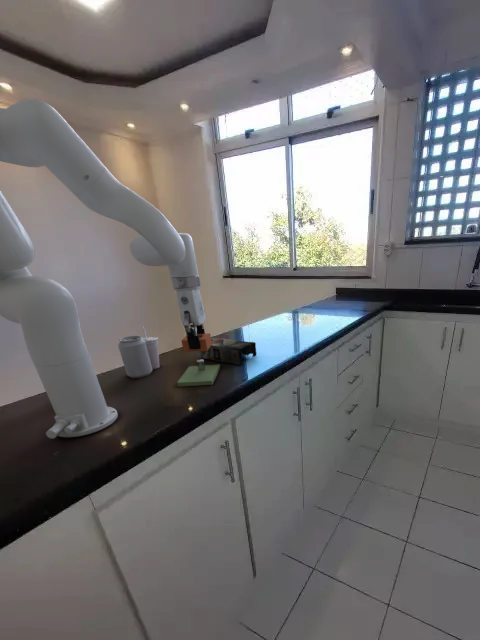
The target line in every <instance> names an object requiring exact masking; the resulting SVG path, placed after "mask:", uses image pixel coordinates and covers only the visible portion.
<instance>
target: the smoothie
mask: <svg viewBox="0 0 480 640" xmlns="http://www.w3.org/2000/svg"><path fill="white" fill-rule="evenodd" d="M141 328H142V332H143V336H144V337H142V339H143V340H144V341H145V343H146V347H147V351H148V354H149V358H150V362H151V366H152V370H156V369H159V368H160V355H159V354H160V353H159V338H158V336H157V337H156V336H147V332H146V328H145V325H142V327H141Z"/></svg>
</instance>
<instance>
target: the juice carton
mask: <svg viewBox="0 0 480 640" xmlns="http://www.w3.org/2000/svg"><path fill="white" fill-rule="evenodd" d="M211 341H212V345H211V346H210V348H209V349H208V351H198V354H199V355H198V356H199V359H200V360H201V359H202V360H208V361H209V360H210V361H214V362H215V361H216V362H220V363H225V364H231V365H237V366H242V365H243V356H247V357H248V356H249V355H252V358H255V357H257V348H256V345H257V343H256V342H255V341H246V340H245V341H244V340H236V339H226V338H219V337H211Z"/></svg>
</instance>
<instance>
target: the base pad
mask: <svg viewBox="0 0 480 640" xmlns="http://www.w3.org/2000/svg"><path fill="white" fill-rule="evenodd" d="M220 370H221V364H205V359H201V358H200V359H197V360H196V365H189V366H188V367H187V368H186V369H185V371H184V373H183V374H182V375H181V376H180V378H179V379H178V380H177V381H176V386H177V387H194V386H210V385H211V386H212V385H213V384H214V382H215V380H216V378H217V377H218V374H219V372H220Z"/></svg>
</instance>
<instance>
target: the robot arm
mask: <svg viewBox="0 0 480 640" xmlns="http://www.w3.org/2000/svg"><path fill="white" fill-rule="evenodd" d="M0 162H2V163H6V164H11V165H16V166H21V167H25V168H40V167H45V168H46V169H47V170H48V171H49V172H50V173H51V174H53V176H55V178H56V179H58V180H59V181H60V182H61V183H62V185H64V187H66V188H67V189H68V190H69V191H70V192H71V193H72V195H74V196H75V197H76V198H77V199H78V200H79V201H80V202H81V203H82V204H83V205H84V206H85V207H86V208H88V210H91V212H94V213H97V214H98V215H100V216H103V217H106V218H109V219H111V220H114V221H115V222H116V221H117V222H119V223H121V224H123V225H125V226H127V227H128V228H130V229H132V230H134V231H135V232H136V233H137V234H136V235H134V236H133V237H132V239H131V240H130V243H129V250H130V253H131V256H132V257H133V259H135V260H136V261H137V262H138V263H139V264H141V265H144V266H147V267H149V266H150V267H163V266H164V267H167V268H168V272H169V277H170V281H171V286H172V290H173V291H175V292H176V299H177V305H178V306H177V307H178V311H179V316H180V321H181V324H182V326H183V328H184V330H185V331H184V332H185V335H186V336H187V340H188V344H189V349H200V348H201V346H200V341H199V336H198V335H197V334H206V332H205V328H204V327H205V326H204V322H205V321H206V319H207V316H206V310H205V307H204V301H203V298H202V297H203V296H202V294H201V290H200V289H201V288H202V286H201V279H200V276H199V275H200V274H199V269H198V263H197V257H196V251H195V246H194V242H193V238H192V236H191V235H190V234H189V233H186V232H178V231H177V229H176V228H175V227H174V226H173V224H172V223H171V222H170V221H169V220H168V218H167V217H166V216H165V215H164V214H163V213H162V212H161V211H160V210H159V209H158V208H157V207H156V206H155V205H154V204H152V203H151V202H150V201H148V200H146V199H145V198H144V197H143V196H140V195H139V194H138V193H136V192H135V191H133V190H132V189H131V188H129V187H127V186H126V185H124V184H123V183H122V182H120V181H119V180H118V179H117V178H116V176H114V175H113V174H112V172H111V171H110V170H109V169H108V168H107V167H106V165H105V164H104V163H103V162H102V161H101V160H100V159H99V157H98V156H97V155H96V153H94V152H93V150H92V149H91V148H90V147H89V146H88V145H87V143H86V142H85V141H84V140H83V139H82V138H81V136H80V135H79V134H78V133H77V132H76V131H75V130H74V128H73V127H72V126H71V125H70V124H69V123H68V121H66V119H65V118H64V117H63V116H62V115H61V114H60V112H59V111H58V110H57V109H55V108H54V107H53V106H51V105H50V104H49V103H47V102H46V101H43V100H41V99H37V98H25V99H21V100H19V101H17V102H15V103H13V104H11V105H10V106H8V107H7V108H4V107H0ZM35 251H36V249H35V246H34V243H33V241H32V238H31V237H30V235H29V233H28V232H27V230H26V229H25V227H24V226H23V224H22V222H21V221H20V219H19V218H18V216H17V215H16V213H15V211H14V210H13V208H12V206H11V205H10V203H9V202H8V200H7V199H6V197H5V195H4V194H3V192H2V191H1V190H0V316H1V317H2V318H3V319H4V320H5V319H6V320H8V321H10V322H12V323H16V324H18V325H20V326H21V330H22V333H23V334H22V335H23V338H24V343H25V347H26V349H27V352H28V354H29V357H30V359H31V361H32V364H33V365H34V368H35V370H36V372H37V375H38V377H39V379H40V381H41V384H42V386H43V388H44V390H45V392H46V395H47V398H48V399H49V403H50V404H51V406H52V408H53V411H54V413H55V416H54V417H53V419H54V421H55V422H54V424H53V426H52V427H50V428H49V429H48V430H47V431H46V432H45V435H46V437H47V438H49V439H56V438H58V437H59V438H60V437H61V438H77V437H82V436H87V435H91V434H95V433H97V432H99V431H102V430H104V429H106V428H107V427H109V426H111V425H112V424H113V423H114V422H115V421H116V420H117V419H118V418H119V413H118V410H117V409H116V408H114V407H111V406H108V404H107V402H106V399H105V396H104V393H103V391H102V388H101V385H100V382H99V378H98V376H97V373H96V369H95V367H94V365H93V362H92V359H91V357H90V354H89V351H88V348H87V345H86V342H85V339H84V335H83V332H82V327H81V322H80V315H79V310H78V305H77V303H76V300H75V298H74V296H73V295H72V294H71V292H70V291H69V289H67V288H66V287H65V286H63V285H62V284H61V283H60V282H58V281H56V280H54V279H51V278H48V277H45V276H39V275H32V273H31V271H30V270H29V269H28V266H30V265H31V263H33V261H34V258H35V254H36V252H35ZM186 336H185V337H186Z"/></svg>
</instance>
